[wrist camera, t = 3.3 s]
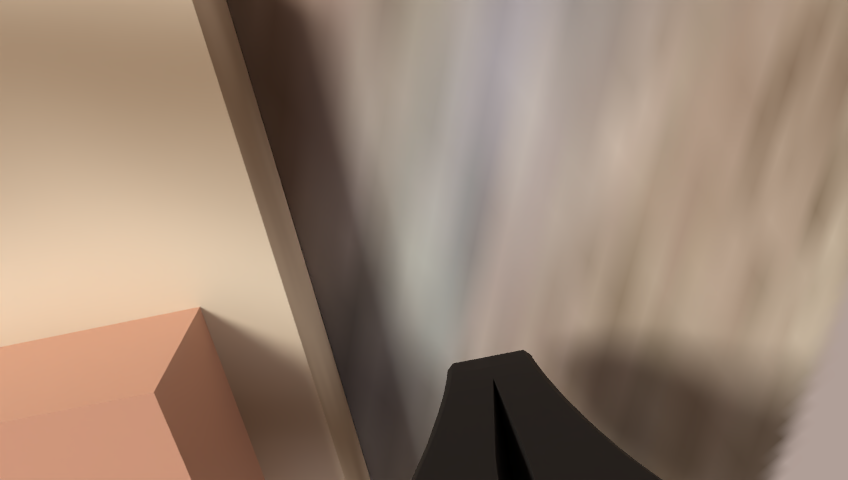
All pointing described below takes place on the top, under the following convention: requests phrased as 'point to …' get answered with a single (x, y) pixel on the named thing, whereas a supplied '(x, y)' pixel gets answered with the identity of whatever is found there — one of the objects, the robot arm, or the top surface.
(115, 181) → the board
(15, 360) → the block
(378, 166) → the top surface
